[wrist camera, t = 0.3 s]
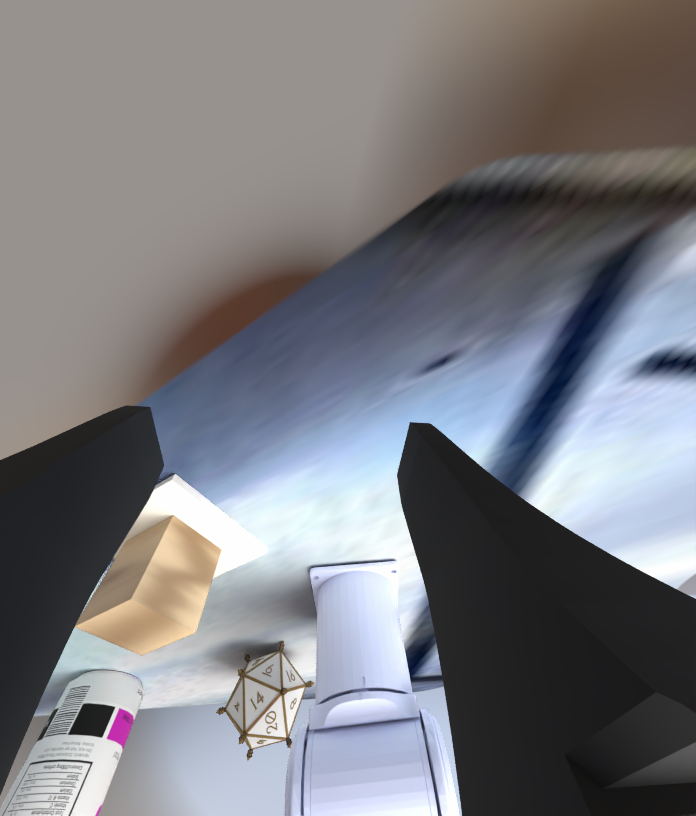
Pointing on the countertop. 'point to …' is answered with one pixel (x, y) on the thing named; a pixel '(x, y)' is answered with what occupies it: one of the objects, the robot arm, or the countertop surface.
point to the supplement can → (77, 748)
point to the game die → (266, 700)
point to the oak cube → (153, 588)
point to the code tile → (198, 522)
